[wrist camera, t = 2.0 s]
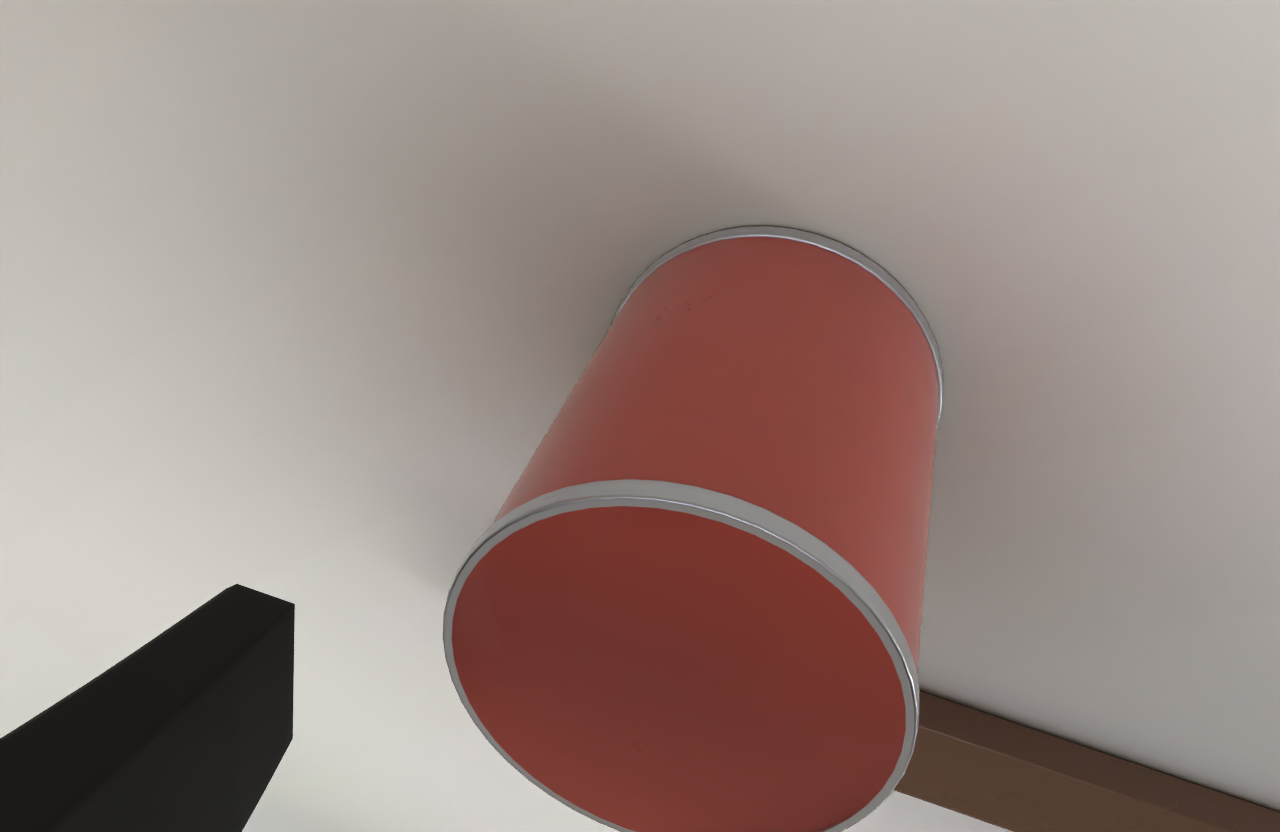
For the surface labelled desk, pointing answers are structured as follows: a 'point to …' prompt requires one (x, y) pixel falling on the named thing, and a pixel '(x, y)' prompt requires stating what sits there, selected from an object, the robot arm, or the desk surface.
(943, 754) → the fork
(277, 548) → the desk surface
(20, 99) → the desk surface
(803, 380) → the tin can
